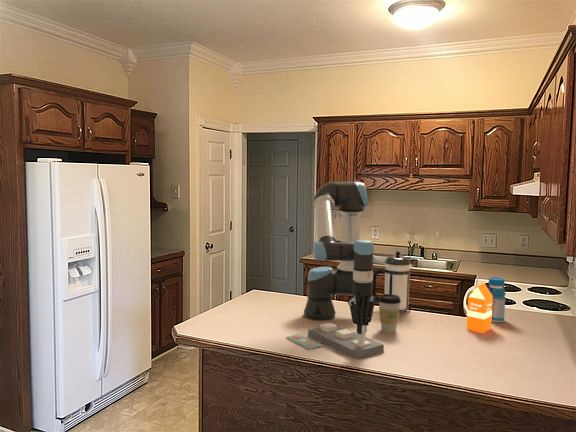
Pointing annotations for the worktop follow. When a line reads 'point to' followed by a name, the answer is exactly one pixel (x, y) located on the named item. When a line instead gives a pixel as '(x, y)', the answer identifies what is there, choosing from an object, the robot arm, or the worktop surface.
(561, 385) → the worktop surface
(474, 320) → the orange juice
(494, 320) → the beverage bottle
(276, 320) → the worktop surface
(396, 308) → the coffee cup
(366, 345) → the button right
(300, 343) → the card
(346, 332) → the button middle
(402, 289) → the coffee press
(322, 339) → the board
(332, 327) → the button left
